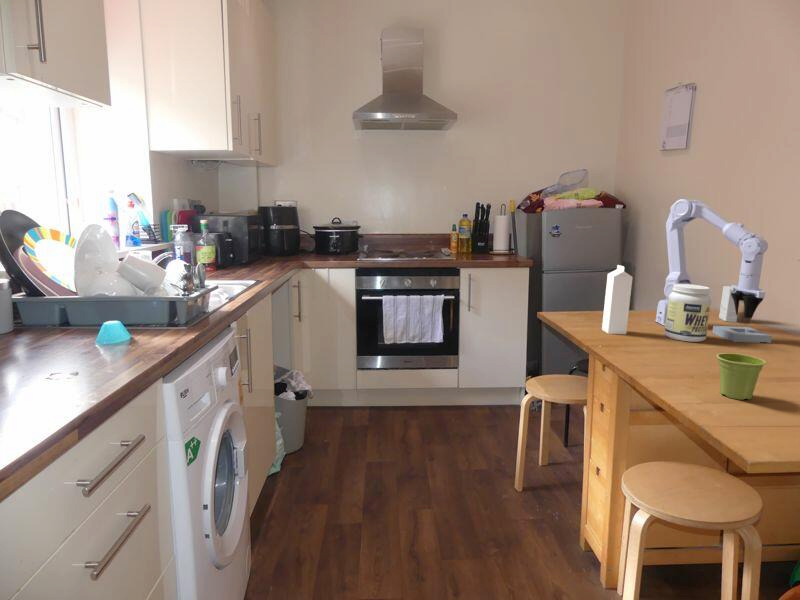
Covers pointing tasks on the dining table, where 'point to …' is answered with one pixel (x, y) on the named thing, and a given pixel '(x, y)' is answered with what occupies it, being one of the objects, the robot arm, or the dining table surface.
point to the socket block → (741, 334)
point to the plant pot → (738, 374)
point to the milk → (617, 301)
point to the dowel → (742, 314)
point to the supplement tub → (688, 313)
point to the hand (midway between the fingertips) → (743, 316)
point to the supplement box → (727, 305)
